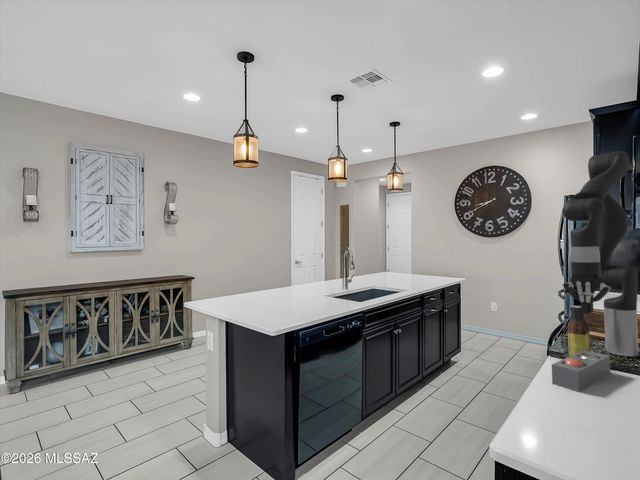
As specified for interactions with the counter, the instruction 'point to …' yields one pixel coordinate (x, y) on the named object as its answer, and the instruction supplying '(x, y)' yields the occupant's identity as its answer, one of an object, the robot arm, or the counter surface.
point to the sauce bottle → (578, 332)
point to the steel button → (589, 357)
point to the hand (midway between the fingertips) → (587, 313)
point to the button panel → (581, 371)
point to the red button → (574, 362)
